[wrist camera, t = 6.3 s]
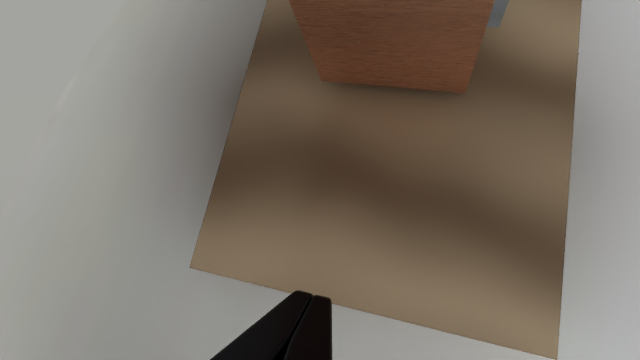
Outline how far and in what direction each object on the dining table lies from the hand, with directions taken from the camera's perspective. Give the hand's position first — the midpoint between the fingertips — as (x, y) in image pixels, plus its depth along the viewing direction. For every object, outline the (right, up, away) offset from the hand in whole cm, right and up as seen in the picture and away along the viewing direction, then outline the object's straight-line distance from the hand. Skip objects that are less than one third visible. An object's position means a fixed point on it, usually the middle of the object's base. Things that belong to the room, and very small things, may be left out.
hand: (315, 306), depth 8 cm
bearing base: (+4, +8, +9) cm, 13 cm away
